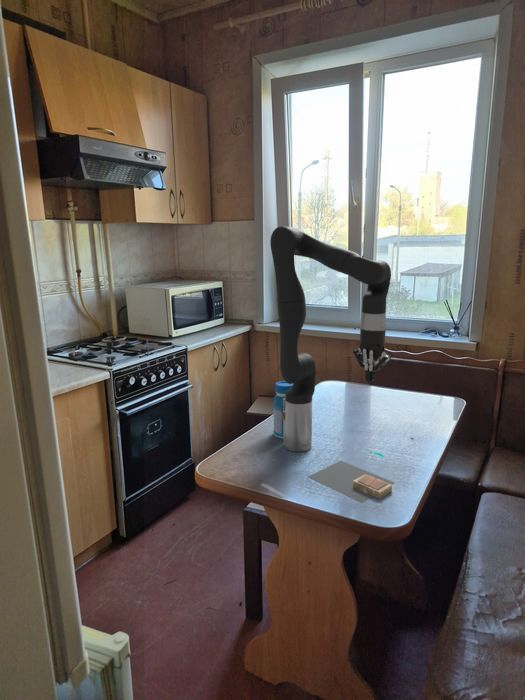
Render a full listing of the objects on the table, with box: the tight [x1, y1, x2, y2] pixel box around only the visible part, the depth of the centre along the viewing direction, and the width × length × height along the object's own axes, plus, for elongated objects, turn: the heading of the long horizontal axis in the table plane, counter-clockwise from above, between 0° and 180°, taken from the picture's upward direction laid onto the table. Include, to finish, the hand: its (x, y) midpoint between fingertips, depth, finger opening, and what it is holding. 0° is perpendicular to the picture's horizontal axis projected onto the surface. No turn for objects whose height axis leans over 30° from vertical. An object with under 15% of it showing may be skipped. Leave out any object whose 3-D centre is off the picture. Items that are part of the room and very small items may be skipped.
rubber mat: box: [307, 460, 395, 504], centre depth 139 cm, size 20×16×1 cm
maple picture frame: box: [353, 474, 393, 500], centre depth 134 cm, size 2×6×9 cm
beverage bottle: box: [272, 380, 294, 439], centre depth 173 cm, size 8×8×20 cm
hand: (370, 381), depth 146 cm, fingers closed
